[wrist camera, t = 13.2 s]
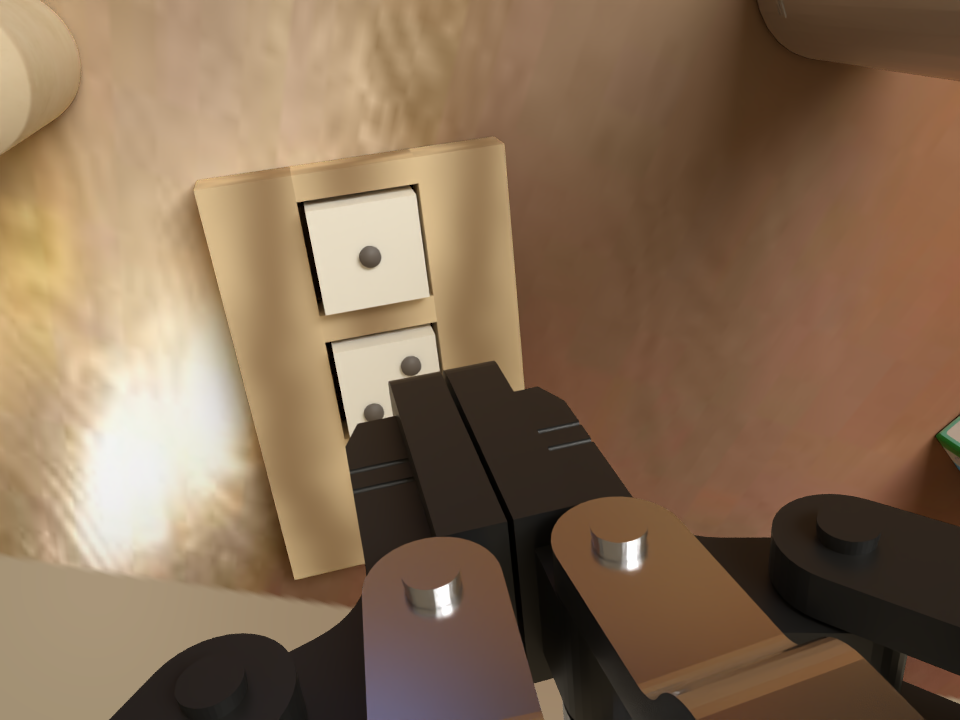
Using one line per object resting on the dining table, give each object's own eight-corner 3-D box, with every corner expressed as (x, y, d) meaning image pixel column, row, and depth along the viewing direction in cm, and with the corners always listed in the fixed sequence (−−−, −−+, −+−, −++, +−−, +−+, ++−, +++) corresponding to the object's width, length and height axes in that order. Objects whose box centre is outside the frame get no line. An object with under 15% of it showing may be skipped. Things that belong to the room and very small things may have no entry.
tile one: (407, 182, 39) (416, 195, 36) (421, 280, 41) (430, 298, 39) (303, 199, 38) (305, 213, 36) (322, 297, 40) (326, 317, 38)
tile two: (426, 316, 42) (435, 336, 39) (437, 400, 44) (447, 423, 42) (329, 334, 41) (333, 355, 39) (346, 418, 43) (351, 443, 41)
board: (493, 136, 39) (504, 143, 37) (525, 503, 49) (535, 523, 47) (196, 180, 37) (193, 190, 35) (293, 557, 47) (294, 580, 45)
